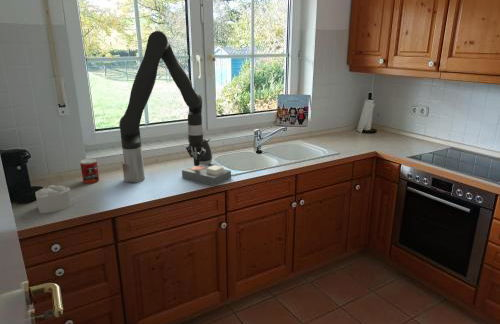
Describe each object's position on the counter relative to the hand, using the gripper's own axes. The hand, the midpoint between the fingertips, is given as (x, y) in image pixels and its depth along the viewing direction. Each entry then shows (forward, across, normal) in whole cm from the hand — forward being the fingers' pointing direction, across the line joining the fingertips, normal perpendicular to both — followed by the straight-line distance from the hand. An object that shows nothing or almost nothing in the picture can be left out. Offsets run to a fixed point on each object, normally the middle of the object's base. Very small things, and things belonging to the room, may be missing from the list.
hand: (196, 165), depth 191 cm
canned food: (+6, -40, -36) cm, 54 cm away
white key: (+3, +12, 0) cm, 12 cm away
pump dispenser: (+6, -10, +16) cm, 20 cm away
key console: (+6, +6, 0) cm, 8 cm away
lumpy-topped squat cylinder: (+7, -24, -62) cm, 67 cm away
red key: (+5, 0, 0) cm, 5 cm away
